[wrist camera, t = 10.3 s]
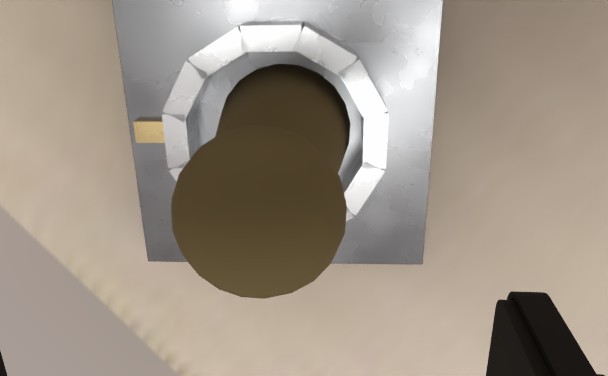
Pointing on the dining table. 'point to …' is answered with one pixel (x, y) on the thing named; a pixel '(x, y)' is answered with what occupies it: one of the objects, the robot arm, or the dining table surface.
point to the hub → (296, 51)
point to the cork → (266, 185)
